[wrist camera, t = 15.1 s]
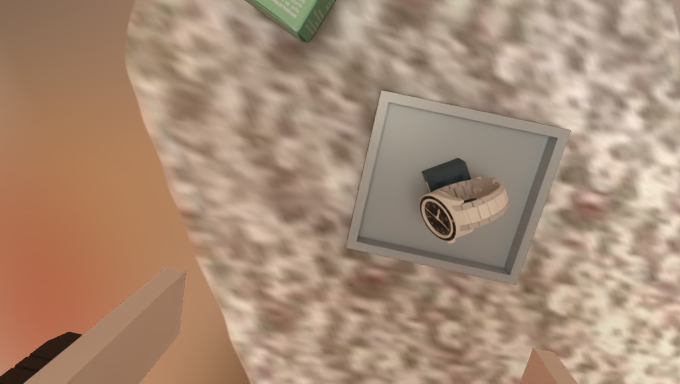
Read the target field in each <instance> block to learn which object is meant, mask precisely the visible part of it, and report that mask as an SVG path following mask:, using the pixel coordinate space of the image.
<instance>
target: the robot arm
mask: <svg viewBox="0 0 680 384" xmlns="http://www.w3.org/2000/svg"><path fill="white" fill-rule="evenodd" d="M185 275H186V271H185V270H180V269H176V268H171V267H167V266H166V267H165V268H164V269H162V270H161V271H160V272H159V273H158V274H156V275H155V276H154V277H153V278H152V279H150V280H149V281H148V282H147V283H145V284H144V285H143V286H142V287H140V288H139V289H138V290H137V291H136V292H134V293H133V294H132V295H131V296H130V297H128V298H127V299H126V300H125V301H123V302H122V303H121V304H120V305H119V306H117V307H116V308H115V309H114V310H112V311H111V312H110V313H109V314H108V315H106V316H105V317H104V318H103V319H102V320H100V321H99V322H98V323H97V324H95V325H94V326H93V327H92V328H91V329H89V330H88V331H87V332H86V333H85V334H84V335H81V334H77V333H72V332H67V333H65V334H63V335H60V336H58V337H56V338H53V339H51V340H49V341H47V342H46V343H44V344H43V345H42V346H40V347H39V348H38V349H36V350H35V351H34V352H33V353H31V354H30V356H29V357H26V358H24V359H23V360H22V361H20V362H19V363H18V364H16V365H15V367H14V368H11V369H10V370H8V371H7V372H6V373H5V374H3V375H2V376H0V384H139V383H140V382H141V381H142V379H143V378H144V377H145V376H146V374H147V373H148V372H149V371H150V369H151V368H152V367H153V366H154V364H155V363H156V362H157V361H158V360H159V358H160V357H161V356H162V355H163V353H164V352H165V350H167V348H168V347H169V346H170V344H171V343H172V342H173V341H174V340H175V338H176V337H177V336H178V335H179V329H180V321H181V312H182V303H183V294H184V285H185ZM520 384H577V382H576V381H575V380H574V378H573V377H572V376H571V374H570V373H569V372H568V370H567V369H566V368H565V366H564V365H563V364H562V362H561V361H560V360H559V358H558V357H557V356H556V354H555V353H554V352H550V351H546V350H541V349H537V348H533V350H532V353H531V356H530V358H529V361H528V363H527V366H526V368H525V371H524V374H523V376H522V379H521V381H520Z"/></svg>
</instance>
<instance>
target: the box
mask: <svg viewBox="0 0 680 384" xmlns="http://www.w3.org/2000/svg"><path fill="white" fill-rule="evenodd" d="M245 1H247V2H248V3H250V4H251V5H252V6H254V7H255V8H257V9H258V10H259V11H261V12H262V13H263V14H265V15H266V16H268V17H269V18H270V19H272V20H273V21H274V22H276V23H277V24H279V25H280V26H281V27H283V28H284V29H285V30H287V31H288V32H289V33H291V34H292V35H294V36H295V37H296V38H298V39H299V40H301V41H304V42H309V41H310V40H311V39H312V37H313V36H314V34H315V32H316V31H317V29H318V28H319V26H320V24H321V23H322V21H323V20H324V18H325V16H326V15H327V13H328V12H329V10H330V8H331V7H332V5H333V4H334V2H335V1H336V0H245Z"/></svg>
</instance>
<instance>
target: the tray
mask: <svg viewBox="0 0 680 384" xmlns="http://www.w3.org/2000/svg"><path fill="white" fill-rule="evenodd" d="M570 132H571V130H567V129H562V128H558V127H553V126H548V125H543V124H539V123H534V122H529V121H524V120H520V119H515V118H510V117H505V116H501V115H496V114H491V113H487V112H482V111H477V110H472V109H468V108H463V107H458V106H453V105H449V104H444V103H439V102H434V101H430V100H425V99H420V98H415V97H411V96H406V95H401V94H397V93H392V92H387V91H382V90H381V91H380V96H379V100H378V105H377V109H376V114H375V118H374V123H373V127H372V132H371V136H370V140H369V145H368V149H367V154H366V158H365V163H364V167H363V172H362V176H361V181H360V185H359V189H358V194H357V198H356V203H355V207H354V212H353V216H352V221H351V225H350V230H349V234H348V239H347V245H346V248H349V249H354V250H358V251H363V252H367V253H372V254H377V255H381V256H386V257H390V258H395V259H399V260H404V261H408V262H413V263H418V264H422V265H427V266H431V267H436V268H440V269H445V270H450V271H454V272H459V273H463V274H468V275H472V276H477V277H482V278H486V279H491V280H495V281H500V282H504V283H509V284H513V285H516V283H517V281H518V278H519V275H520V272H521V269H522V267H523V264H524V261H525V258H526V255H527V253H528V250H529V247H530V244H531V241H532V239H533V236H534V233H535V230H536V227H537V225H538V222H539V219H540V216H541V213H542V210H543V208H544V205H545V202H546V199H547V196H548V194H549V191H550V188H551V185H552V182H553V180H554V177H555V174H556V171H557V168H558V166H559V163H560V160H561V157H562V154H563V152H564V149H565V146H566V143H567V140H568V137H569V135H570ZM456 158H460V159H461V160H463V161H465V162H466V165H467V168H468V171H469V174H470V177H471V179H472V178H477V177H490V178H498V179H500V180H501V181H502V182H503V184H504V187H505V190H506V193H507V196H508V200H509V203H510V205H509V208H508V209H507V211H506V212H505V213H504V214H503V215H502V216H500V217H498V218H497V219H495V220H494V221H492V222H489V223H487V224H485V225H482V226H480V225H479V227H477V228H474V229H473V230H474V231H472V232H471V233H468V234H466V235H463V236H460V237H457V238H456V239H455V240H456V241H455V242H454V243H451V244H450V243H448V242H446V241H443V240H441V239H439V238H438V237H436V236H435V235H434V234H433V233H432V232H431V231H430V230H429V229H428V227H427V226H426V224H425V223H424V221H423V219H422V216H421V213H420V208H419V203H420V199H421V198H422V197H423V196H424V195H426V194H429V191H428V188H427V185H426V182H425V180H424V177H423V174H422V171H424V170H427V169H429V168H432V167H435V166H437V165H440V164H443V163H446V162H448V161H451V160H454V159H456ZM478 223H479V222H478Z"/></svg>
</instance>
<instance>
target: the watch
mask: <svg viewBox="0 0 680 384" xmlns="http://www.w3.org/2000/svg"><path fill="white" fill-rule="evenodd" d="M422 174H423V177H424V180H425V182H426V185H427V188H428V191H429V194H426V195H424V196H423V197H422V198H421V199H420V203H419V208H420V213H421V216H422V219H423V221H424V223H425V224H426V226H427V227H428V229H429V230H430V231H431V232H432V233H433V234H434V235H435V236H436V237H438V238H439V239H441V240H443V241H446V242H448V243H450V244H451V243H454V242H455V241H456V240H455V239H456V238H457V237H460V236H463V235H466V234H468V233H471V232H472V231H474V230H473V229H474V228H477V227H479V225H480V226H482V225H485V224H487V223H489V222H492V221H494V220H495V219H497V218H498V217H500V216H502V215H503V214H504V213H505V212H506V211H507V209H508V208H509V205H510V203H509V200H508V196H507V193H506V190H505V187H504V184H503V182H502V181H501V180H500V179H498V178H490V177H477V178H472V179H471V177H470V174H469V171H468V168H467V165H466V162H465V161H463V160H461V159H460V158H456V159H454V160H451V161H448V162H446V163H443V164H440V165H437V166H435V167H432V168H429V169H427V170H424V171H422ZM478 222H479V223H478Z"/></svg>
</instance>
